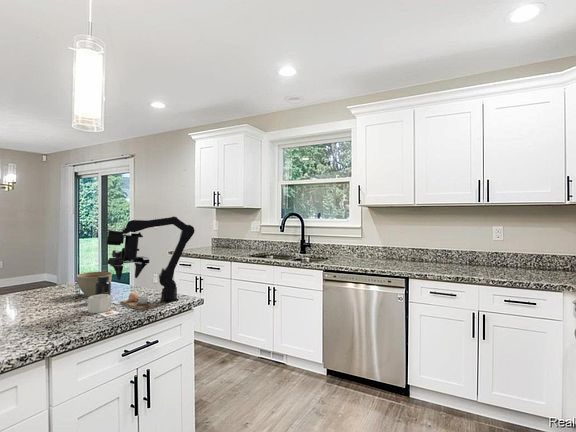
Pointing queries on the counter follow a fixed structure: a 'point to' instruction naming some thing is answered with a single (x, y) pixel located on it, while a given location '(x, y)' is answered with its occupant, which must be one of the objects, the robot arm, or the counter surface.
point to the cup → (99, 303)
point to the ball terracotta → (133, 297)
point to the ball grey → (143, 300)
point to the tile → (109, 313)
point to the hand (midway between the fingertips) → (127, 278)
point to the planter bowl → (90, 281)
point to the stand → (138, 304)
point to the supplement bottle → (103, 286)
